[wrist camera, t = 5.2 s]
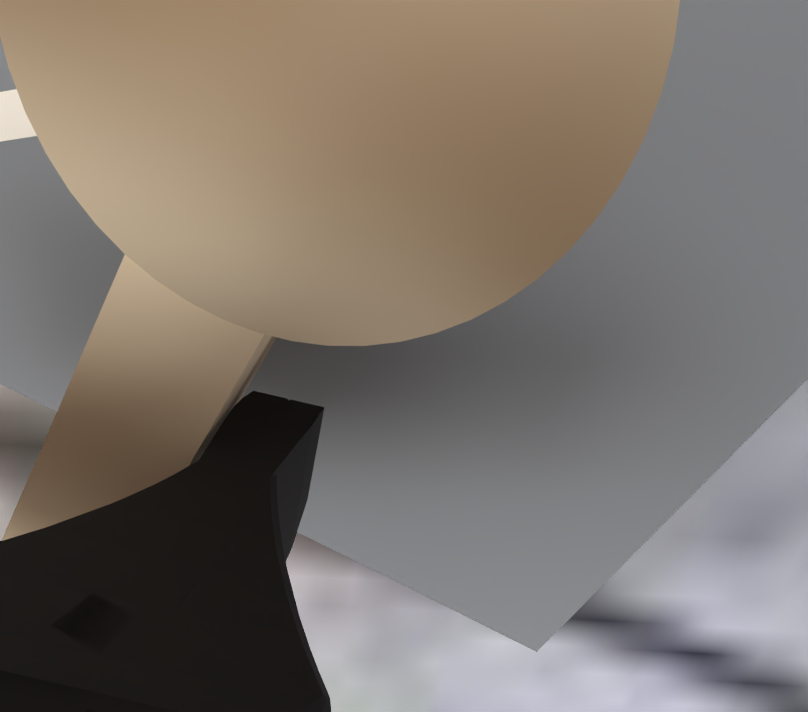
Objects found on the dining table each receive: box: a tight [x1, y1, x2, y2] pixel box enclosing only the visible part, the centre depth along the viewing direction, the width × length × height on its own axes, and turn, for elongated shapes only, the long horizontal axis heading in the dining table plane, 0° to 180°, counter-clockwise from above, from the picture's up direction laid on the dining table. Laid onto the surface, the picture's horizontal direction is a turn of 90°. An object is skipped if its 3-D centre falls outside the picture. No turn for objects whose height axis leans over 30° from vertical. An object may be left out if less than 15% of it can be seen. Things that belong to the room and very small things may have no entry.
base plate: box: [0, 0, 808, 652], centre depth 11 cm, size 20×20×2 cm
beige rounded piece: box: [0, 0, 680, 541], centre depth 9 cm, size 13×6×4 cm, turn 148°
